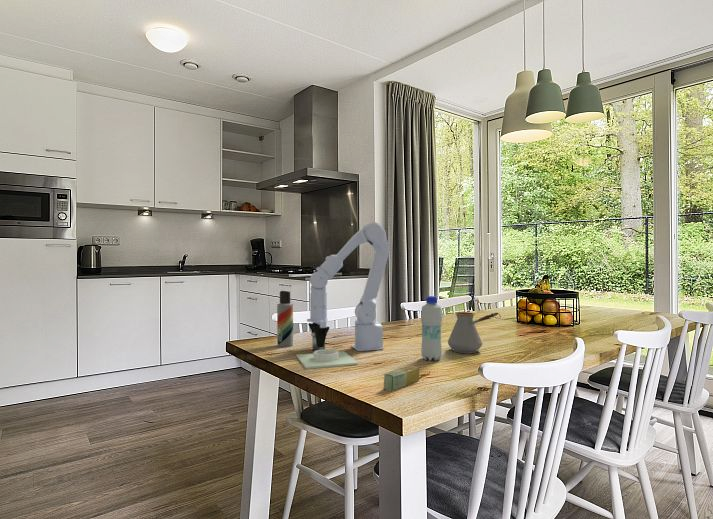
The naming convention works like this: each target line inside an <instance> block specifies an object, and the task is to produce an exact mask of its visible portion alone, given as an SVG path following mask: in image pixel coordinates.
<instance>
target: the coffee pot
mask: <svg viewBox="0 0 713 519" xmlns="http://www.w3.org/2000/svg"><path fill="white" fill-rule="evenodd" d="M454 314H455V316H456V321H455V324H454V325H453V328H452V331H451V333H450V334H449V337H448V340H447V343H448V347H450V348H451V349H452V350H453V351H454V352H456V353H459V354H475V353H477V351H479V350H480V349H481V348H482V346H483V341H482V339H481V337H480V335H479V332H478V329H477V328H476V325H475V324H478V323H480V322H484V321H486V320H490V319H491V318H495V319H497V320H499V319H501V314H500V313H499V312H493V313H491V314H487V315H485V316H483V317H480V318H479V319H476V320H474V316H475V313H473V312H467V311H466V312H465V311H463V312H461V311H460V312H455V313H454ZM497 315H499V318H498V317H497Z"/></svg>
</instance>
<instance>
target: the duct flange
mask: <svg viewBox="0 0 713 519" xmlns="http://www.w3.org/2000/svg"><path fill="white" fill-rule="evenodd" d="M295 355H296V358H297V360H298V361H299V362H300V363H301V365H302V366H303V368H304V369H305V370H311V369H313V370H314V369H321V368H334V367H336V368H337V367H342V366H343V367H346V366H357V365H359V361H357V360H355V358H353V357H352V356H350V355H349V353H347V352H346V351H344V350H343V351H341V350H340V351H339V350H337V349H336V350H335V349H330V348H329V349H326V348H325V349H324V350H317V351H313V352H312V353H302V354H295Z"/></svg>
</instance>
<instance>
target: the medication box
mask: <svg viewBox="0 0 713 519" xmlns="http://www.w3.org/2000/svg"><path fill="white" fill-rule="evenodd" d="M383 376H384V377H383V390H384V389H386V390H385V391H387V390H390V391H389V392H393V391H392V390H394V391H395V389H396V390H399V389H401V388H404V387H406V385H407V386H409V385H412V384H415V383H417V382H420V367H419V366H415V365H409V366H407V367H404V368H400V369H397V370H394V371H391V372H387V373H384V374H383ZM414 382H415V383H414ZM411 383H412V384H411ZM403 386H404V387H403ZM400 387H401V388H400ZM398 388H399V389H398Z"/></svg>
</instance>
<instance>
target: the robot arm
mask: <svg viewBox="0 0 713 519" xmlns="http://www.w3.org/2000/svg"><path fill="white" fill-rule="evenodd" d="M365 243H369V245H370V246H371V248H372V249H373V250H374V255H373V258H372V262H371V266H370V269H369V272H368V276H367V279H366V282H365V287H364V291H363V294H362V295H361V298H360V300H359V303H358V304H357V305H356V306H355V309H354V314H355V317H356V318H357V319H356V320H355V321H354V344H352V345H351V347H352V349H354V350H356V352H364V351H365V352H367V351H376V350H377V351H379V350H384V349H385V348H384V346H383V345H384V340H383V339H384V336H383V334H384V332H383V331H384V330H383V326H382V324H381V323H380V322H376V321H375V319H376V317H377V313H376V307H377V297H378V293H379V290H380V287H381V283H382V280H383V276H384V273H385V269H386V266H387V261H388V258H389V255H390V251H391V248H390V244H389V241H388V238H387V232H386V230H385V229H384V227H383V226H382V225H381V224H380V223H379V222H371V223H369V224H366V225H364V226H363V227H362V228H361V229H360V230H358V231H357V232H356V233H355V234H353V235H352V236H351V238H349V240H348V241H347V242H346V244H344V246H343V247H341V249H340V250H339V251H338V252H337V254H330V255H329V256H326V257H325V261H323V263H322V264H320V265H319V266H317V267H316V269H315V270H316V271H314V272H313V273H312V274H311V275H310V278H309V284H310V293H309V298H310V301H309V303H310V304H309V305H310V307H309V308H310V309H309V311H310V312H309V313H310V318H307V319H306V322H310V323H308V326H309V328H310V332H311V333H312V332H315V336H316V343H317V347H324V344H325V345H326V338H327V334H328V332H329V331H330V328H331V327H330V326H327V323H328V313H327V312H328V306H327V305H328V295H327V294H328V293H327V285H328V282H329V281H328V280H331V279H332V278H333V277H334V276H335V275H336V274H337V273H338V272H339V271H340V270H341V269H342V268H343V267H344V264H343V263H344V261H345V259H347V257H349V255H350V254H351V253H352V252H354V250H355V249H356V248H357V247H358V246H360V245H362V244H365Z"/></svg>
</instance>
